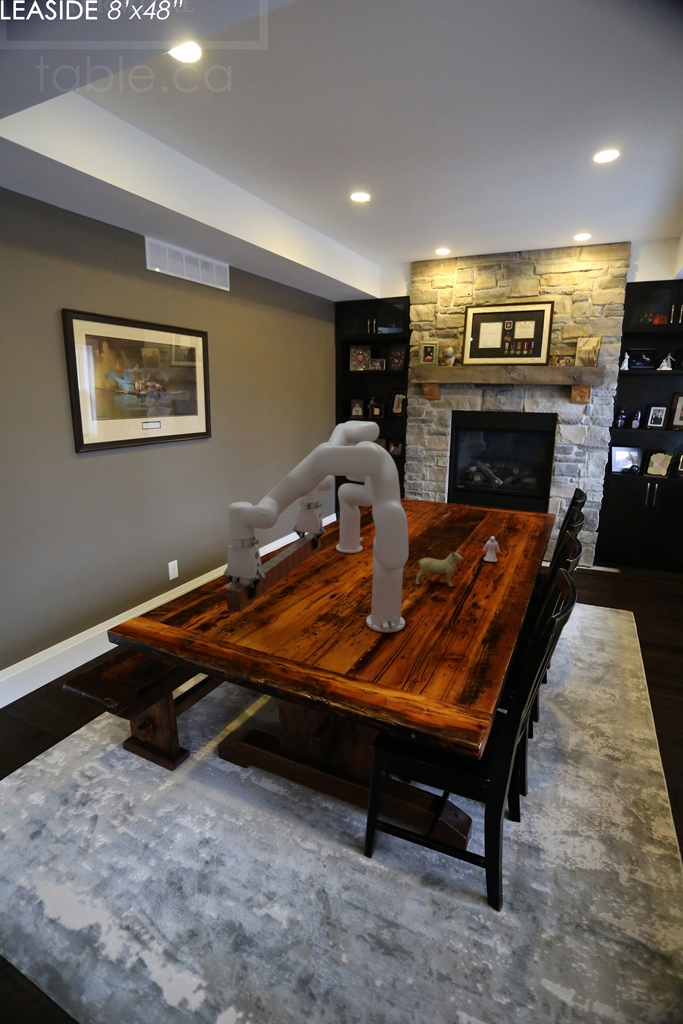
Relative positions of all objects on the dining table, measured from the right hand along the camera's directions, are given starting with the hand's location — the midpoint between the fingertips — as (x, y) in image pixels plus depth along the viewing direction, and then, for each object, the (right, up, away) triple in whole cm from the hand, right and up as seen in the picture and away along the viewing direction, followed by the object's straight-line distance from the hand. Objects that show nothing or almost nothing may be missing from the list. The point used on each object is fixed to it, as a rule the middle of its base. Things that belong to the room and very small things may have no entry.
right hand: (245, 596), depth 159 cm
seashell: (-8, -5, +20) cm, 22 cm away
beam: (+9, +4, +24) cm, 26 cm away
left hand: (+17, +12, +48) cm, 52 cm away
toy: (+68, -2, +37) cm, 78 cm away
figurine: (+98, +5, +66) cm, 118 cm away
